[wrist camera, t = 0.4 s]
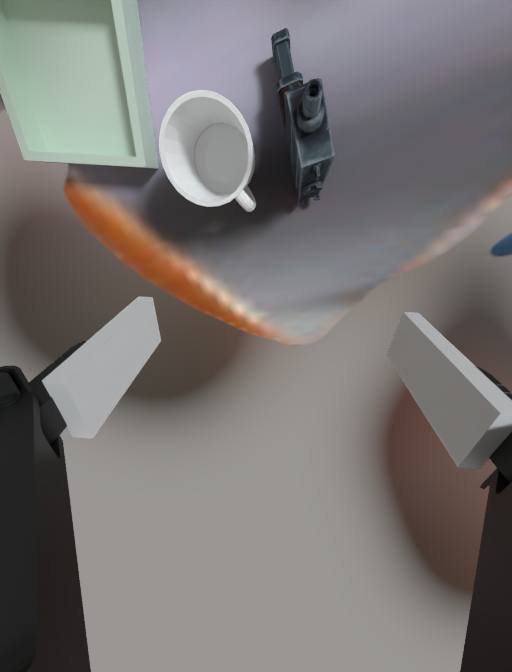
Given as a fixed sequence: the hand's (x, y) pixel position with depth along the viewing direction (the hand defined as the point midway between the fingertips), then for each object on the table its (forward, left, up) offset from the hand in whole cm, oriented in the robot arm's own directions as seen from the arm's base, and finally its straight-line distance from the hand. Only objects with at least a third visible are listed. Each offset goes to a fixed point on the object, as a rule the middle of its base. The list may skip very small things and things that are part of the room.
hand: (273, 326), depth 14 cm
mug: (-8, -7, -28) cm, 29 cm away
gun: (-12, +1, -28) cm, 30 cm away
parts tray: (-15, -24, -27) cm, 39 cm away
